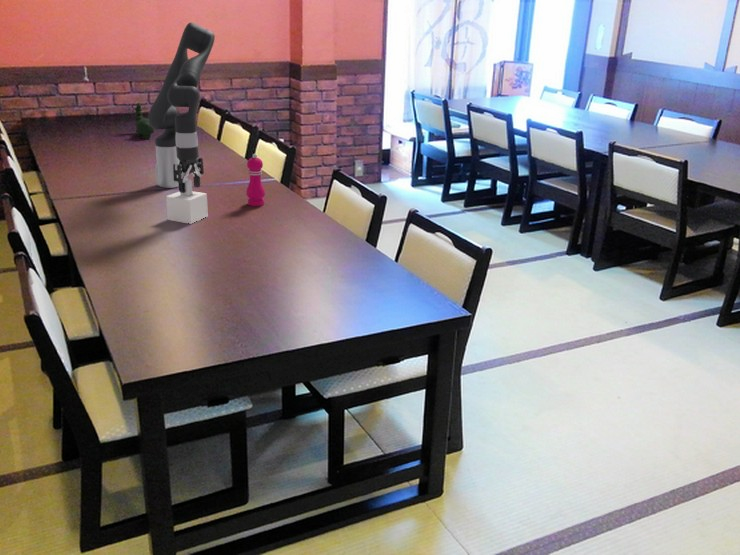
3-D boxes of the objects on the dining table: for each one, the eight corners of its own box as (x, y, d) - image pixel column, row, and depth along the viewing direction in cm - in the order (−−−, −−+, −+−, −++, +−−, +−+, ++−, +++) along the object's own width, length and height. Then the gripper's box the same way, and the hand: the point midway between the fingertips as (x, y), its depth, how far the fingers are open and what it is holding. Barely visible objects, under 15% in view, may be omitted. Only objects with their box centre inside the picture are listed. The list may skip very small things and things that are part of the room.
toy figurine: (132, 136, 392) (140, 140, 371) (128, 102, 386) (136, 104, 365) (148, 135, 396) (158, 139, 375) (145, 102, 390) (154, 104, 369)
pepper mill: (268, 203, 271) (267, 153, 264) (258, 207, 265) (257, 156, 257) (253, 200, 274) (252, 151, 266) (243, 204, 268) (241, 154, 260)
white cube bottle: (167, 219, 247) (164, 180, 241) (185, 212, 256) (182, 174, 250) (191, 224, 243) (188, 184, 238) (208, 216, 252) (205, 178, 247)
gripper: (190, 140, 246) (193, 184, 252) (165, 147, 234) (168, 192, 240) (208, 142, 243) (210, 186, 249) (183, 149, 231) (186, 195, 237)
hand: (189, 189), depth 245 cm, fingers open, 8 cm apart
